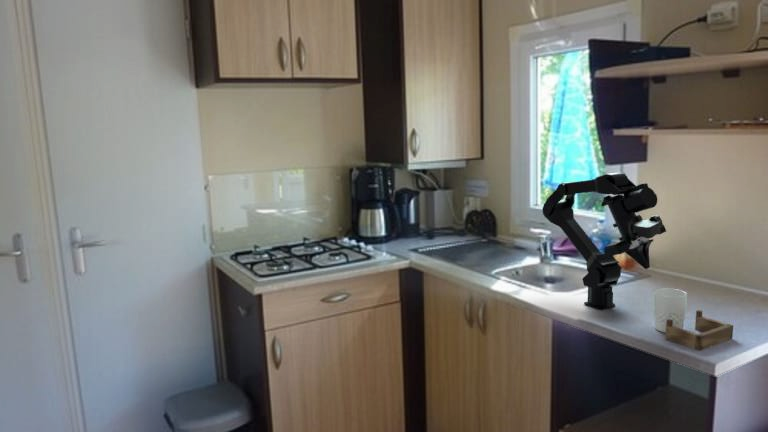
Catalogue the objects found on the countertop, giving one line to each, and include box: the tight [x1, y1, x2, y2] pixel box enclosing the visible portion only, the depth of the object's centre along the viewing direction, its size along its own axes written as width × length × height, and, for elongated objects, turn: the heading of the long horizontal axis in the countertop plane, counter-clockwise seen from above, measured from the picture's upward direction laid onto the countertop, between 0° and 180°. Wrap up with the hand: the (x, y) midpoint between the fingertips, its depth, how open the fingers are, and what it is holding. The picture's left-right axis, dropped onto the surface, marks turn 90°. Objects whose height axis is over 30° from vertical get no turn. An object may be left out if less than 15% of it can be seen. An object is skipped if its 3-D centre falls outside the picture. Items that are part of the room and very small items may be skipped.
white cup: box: [653, 287, 688, 334], centre depth 154 cm, size 8×8×10 cm
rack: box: [664, 309, 734, 352], centre depth 147 cm, size 9×13×5 cm
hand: (647, 268), depth 163 cm, fingers closed
